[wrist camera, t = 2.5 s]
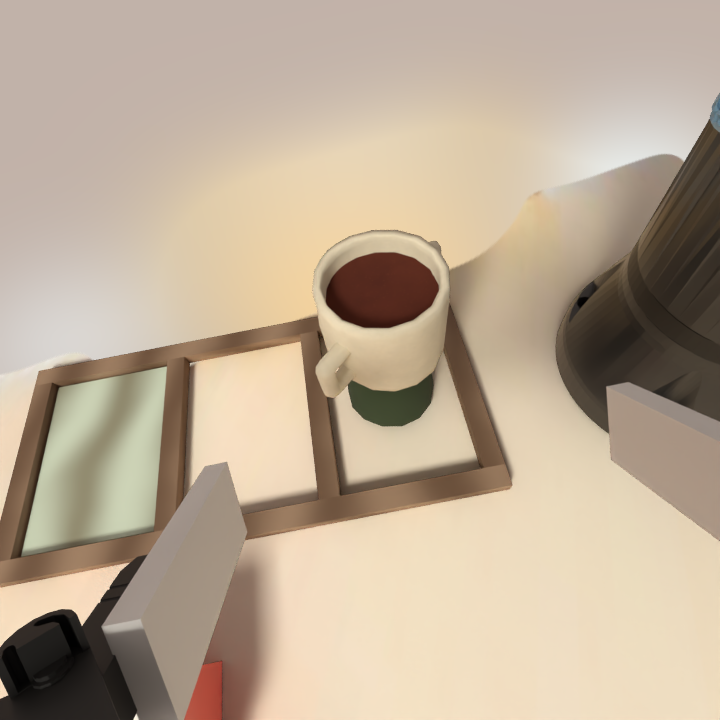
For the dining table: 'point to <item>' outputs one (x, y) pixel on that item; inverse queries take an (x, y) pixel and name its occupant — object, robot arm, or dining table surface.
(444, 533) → the dining table surface
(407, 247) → the character mug
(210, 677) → the red die
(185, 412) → the game track
